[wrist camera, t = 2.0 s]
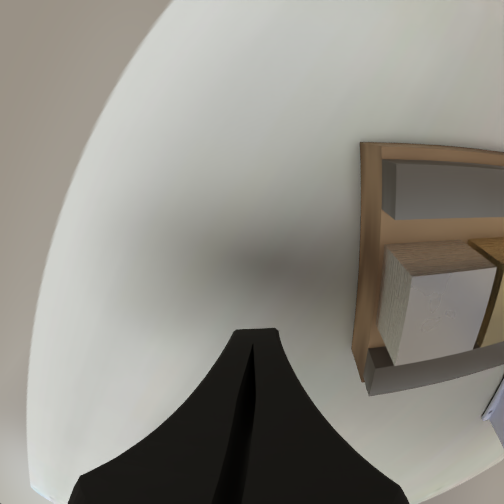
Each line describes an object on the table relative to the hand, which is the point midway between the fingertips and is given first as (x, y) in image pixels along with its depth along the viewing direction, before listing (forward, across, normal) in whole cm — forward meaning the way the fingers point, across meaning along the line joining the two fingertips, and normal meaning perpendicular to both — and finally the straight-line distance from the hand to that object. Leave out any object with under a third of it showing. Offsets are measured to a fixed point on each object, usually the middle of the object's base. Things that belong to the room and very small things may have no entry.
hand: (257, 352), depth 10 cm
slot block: (+7, -10, 0) cm, 12 cm away
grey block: (+4, -7, 0) cm, 8 cm away
